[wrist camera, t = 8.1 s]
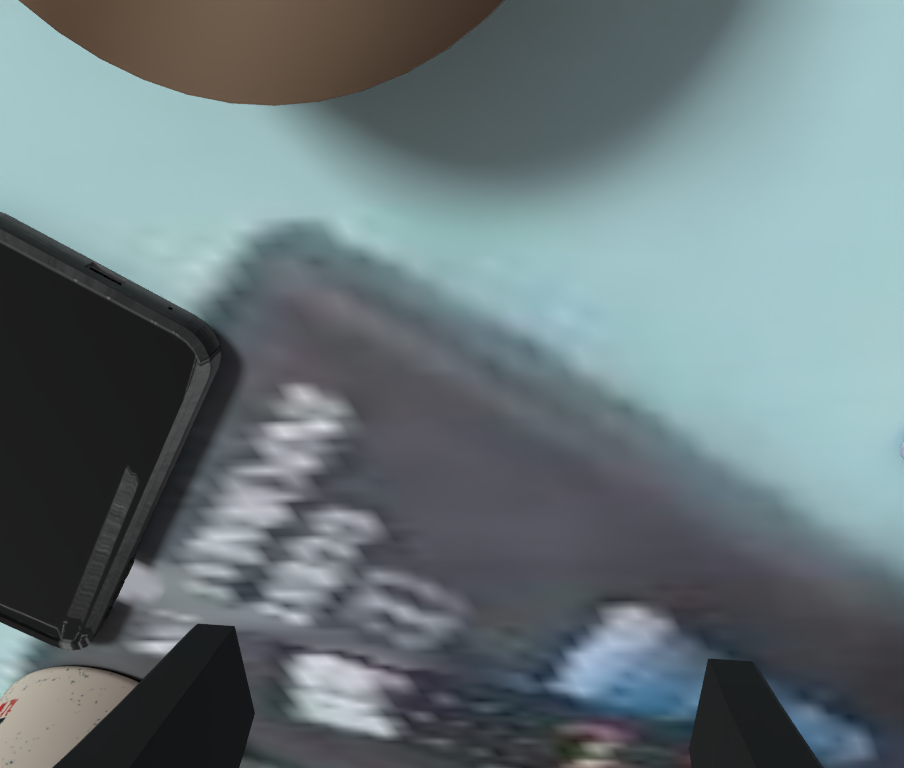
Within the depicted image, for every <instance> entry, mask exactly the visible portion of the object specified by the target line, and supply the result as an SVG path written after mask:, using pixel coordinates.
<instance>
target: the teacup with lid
mask: <svg viewBox="0 0 904 768" xmlns="http://www.w3.org/2000/svg"><path fill="white" fill-rule="evenodd" d="M138 683H139V682H137V681H135V680H133V679H130V678H128V677H125V676H122V675H119V674H116V673H113V672H109V671H105V670H101V669H95V668H89V667H79V666H59V667H51V668H46V669H42V670H38V671H36V672H33V673H30V674H28V675H26V676H24V677H22V678H21V679H19V680H18V681H16V682H15V683H14V684H13V685H12V686H11V687H10V688H9V689H8V690H7V691H6V692H5V693H4V695H3V696H2V697H1V699H0V768H52V767H53V766H54V765H55V764H57V763H58V762H59V761H60V760H61V759H62V758H63V757H64V756H65V755H66V754H67V753H68V752H70V751H71V750H72V749H73V748H74V747H75V746H76V745H77V744H78V743H79V742H80V741H81V740H82V739H83V738H84V737H85V736H86V735H87V734H88V733H89V732H90V731H91V730H92V729H93V728H94V727H95V726H96V725H97V724H98V723H99V722H100V721H101V720H102V719H103V718H104V717H105V716H107V715H108V714H109V713H110V712H111V711H112V710H113V709H114V708H115V707H116V706H117V705H118V704H119V703H120V702H121V701H122V700H123V699H124V698H125V697H126V696H127V695H128V694H129V693H130V692H131V691H132V690H133V689H134V688H135V687H136V686H137V684H138Z"/></svg>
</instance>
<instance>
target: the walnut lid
mask: <svg viewBox="0 0 904 768" xmlns="http://www.w3.org/2000/svg"><path fill="white" fill-rule="evenodd" d="M19 1H20V2H21V3H23V4H24V5H25V6H26V7H28V8H29V9H30V10H31V11H33V12H34V13H35V14H36V15H38V16H39V17H40V18H41V19H43V20H44V21H45V22H46V23H48V24H49V25H50V26H51V27H53V28H54V29H55V30H56V31H58V32H59V33H61V34H62V35H64V36H65V37H67V38H69V39H70V40H72V41H73V42H75V43H76V44H78V45H80V46H81V47H83V48H84V49H86V50H87V51H89V52H91V53H92V54H94V55H95V56H97V57H98V58H100V59H102V60H104V61H106V62H108V63H110V64H112V65H114V66H116V67H118V68H120V69H122V70H125V71H127V72H129V73H131V74H133V75H135V76H137V77H139V78H141V79H143V80H146V81H149V82H152V83H155V84H158V85H161V86H164V87H167V88H169V89H172V90H175V91H178V92H181V93H184V94H187V95H192V96H197V97H202V98H207V99H213V100H218V101H223V102H228V103H237V104H256V105H275V106H276V105H287V104H298V103H308V102H319V101H323V100H327V99H331V98H335V97H340V96H344V95H348V94H352V93H356V92H360V91H363V90H366V89H368V88H371V87H373V86H376V85H378V84H380V83H383V82H385V81H388V80H390V79H393V78H395V77H398V76H400V75H403V74H405V73H407V72H409V71H411V70H413V69H414V68H416V67H418V66H419V65H421V64H423V63H425V62H426V61H428V60H430V59H431V58H433V57H435V56H437V55H438V54H440V53H442V52H443V51H445V50H447V49H449V48H450V47H451V46H453V45H454V44H455V43H456V42H458V41H459V40H460V39H461V38H463V37H464V36H465V35H466V34H468V33H469V32H470V31H472V30H473V29H474V28H475V27H477V26H478V25H479V24H480V23H482V22H483V21H484V20H486V19H487V18H488V17H489V16H490V15H491V14H492V13H493V12H494V11H495V10H496V9H497V8H498V7H499V6H500V5H501V4H502V3H503V1H504V0H19Z"/></svg>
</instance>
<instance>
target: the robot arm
mask: <svg viewBox="0 0 904 768" xmlns="http://www.w3.org/2000/svg"><path fill="white" fill-rule="evenodd" d="M900 454H901V457H902V458H903V459H904V442H903V443H902V444H901V447H900ZM254 714H255V712H254V708H253V704H252V699H251V695H250V691H249V686H248V682H247V678H246V673H245V669H244V665H243V660H242V656H241V652H240V647H239V643H238V639H237V634H236V630H235V626H223V625H209V624H197V625H196V626H195V627H193V628H192V629H191V630H190V631H189V632H188V633H187V634H186V635H185V636H184V637H183V638H182V639H181V640H180V641H179V642H178V643H177V644H176V645H175V647H174V648H173V649H172V650H171V651H170V652H169V653H168V654H167V655H166V656H165V657H164V658H163V659H162V660H161V661H160V662H159V663H158V664H157V665H156V666H155V667H154V668H153V669H152V670H151V671H150V672H149V673H148V674H147V675H146V676H145V677H144V678H143V679H142V680H141V681H140V682H139V683H138V684H137V686H136V687H135V688H134V689H133V690H132V691H131V692H130V693H129V694H128V695H127V696H126V697H125V698H124V699H123V700H122V701H121V702H120V703H119V704H118V705H117V706H116V707H115V708H114V709H113V710H112V711H111V712H110V713H109V714H108V715H107V716H105V717H104V718H103V719H102V720H101V721H100V722H99V723H98V724H97V725H96V726H95V727H94V728H93V729H92V730H91V731H90V732H89V733H88V734H87V735H86V736H85V737H84V738H83V739H82V740H81V741H80V742H79V743H78V744H77V745H76V746H75V747H74V748H73V749H72V750H71V751H70V752H68V753H67V754H66V755H65V756H64V757H63V758H62V759H61V760H60V761H59V762H58V763H57V764H55V765H54V766H53V767H52V768H239V766H240V763H241V760H242V756H243V753H244V750H245V746H246V743H247V739H248V736H249V732H250V728H251V725H252V721H253V718H254ZM689 752H690V759H691V766H692V768H823V766H822V765H821V763H820V762H819V760H818V759H817V758H816V756H815V755H814V753H813V752H812V750H811V749H810V747H809V746H808V744H807V743H806V741H805V740H804V738H803V737H802V735H801V734H800V732H799V731H798V730H797V728H796V727H795V725H794V724H793V722H792V720H791V719H790V717H789V716H788V714H787V713H786V711H785V710H784V708H783V707H782V705H781V704H780V702H779V701H778V699H777V697H776V696H775V694H774V693H773V691H772V690H771V688H770V686H769V685H768V683H767V682H766V680H765V679H764V677H763V675H762V674H761V672H760V670H759V669H758V668H757V666H756V665H755V664H754V663H753V662H751V661H736V660H722V659H708V662H707V667H706V672H705V676H704V681H703V686H702V690H701V695H700V700H699V705H698V709H697V714H696V719H695V723H694V728H693V733H692V737H691V742H690V747H689Z"/></svg>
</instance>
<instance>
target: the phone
mask: <svg viewBox="0 0 904 768" xmlns="http://www.w3.org/2000/svg"><path fill="white" fill-rule="evenodd" d="M90 267H92V268H93V269H95V270H97V271H99V272H101V273H103V274H105V275H106V276H108V277H110V278H112V279H114V280H116V281H118V282H120V283H121V284H122V285H118V284H117V283H115V282H113V281H111V280H109V279H107V278H105V277H104V276H102V275H100V274H98V273H96V272H94V271H92V270H90V269H89V268H90ZM168 307H171V308H173V309H172V310H170V309H168ZM220 361H221V348H220V344H219V341H218V339H217V337H216V335H215V333H214V332H213V331H212V329H211V328H210V327H209V326H208V325H207V324H206V323H205V322H204V321H203V320H201V319H200V318H198V317H197V316H195V315H194V314H192V313H190V312H188V311H186V310H184V309H183V308H181V307H179V306H177V305H175V304H173V303H171V302H170V301H168V300H166V299H164V298H162V297H160V296H158V295H156V294H155V293H153V292H151V291H149V290H147V289H145V288H143V287H142V286H140V285H138V284H136V283H134V282H132V281H130V280H128V279H127V278H125V277H123V276H121V275H119V274H117V273H115V272H114V271H112V270H110V269H108V268H106V267H104V266H102V265H101V264H99V263H97V262H95V261H93V260H91V259H89V258H87V257H86V256H84V255H82V254H80V253H78V252H76V251H74V250H73V249H71V248H69V247H67V246H65V245H63V244H61V243H59V242H58V241H56V240H54V239H52V238H50V237H48V236H46V235H45V234H43V233H41V232H39V231H37V230H35V229H33V228H31V227H30V226H28V225H26V224H24V223H22V222H20V221H18V220H17V219H15V218H13V217H11V216H9V215H7V214H5V213H2V212H0V622H1V623H3V624H6V625H8V626H10V627H12V628H15V629H17V630H19V631H21V632H24V633H26V634H28V635H30V636H33V637H35V638H37V639H39V640H41V641H44V642H46V643H48V644H50V645H53V646H55V647H58V648H61V649H66V650H79V649H82V648H85V647H87V646H88V645H89V644H90V642H91V641H92V640H93V638H94V637H95V635H96V634H97V632H98V631H99V630H100V628H101V627H102V625H103V623H104V621H105V620H106V619H107V617H108V616H109V614H110V611H111V609H112V607H113V606H112V603H113V601H115V600H116V599H117V597H118V595H119V593H120V590H121V588H122V586H123V584H124V582H125V579H126V578H127V576H128V574H129V572H130V570H131V568H132V565H133V563H134V560H132V559H133V557H134V555H135V552H136V550H137V548H138V546H139V543H140V541H141V539H142V537H143V535H144V532H145V530H146V528H147V526H148V524H149V521H150V519H151V517H152V515H153V512H154V510H155V508H156V506H157V504H158V501H159V499H160V497H161V495H162V492H163V490H164V488H165V486H166V484H167V481H168V479H169V477H170V475H171V472H172V470H173V468H174V466H175V464H176V461H177V459H178V457H179V455H180V452H181V450H182V448H183V446H184V444H185V441H186V439H187V437H188V435H189V432H190V430H191V428H192V426H193V424H194V421H195V419H196V417H197V415H198V412H199V410H200V408H201V406H202V404H203V401H204V399H205V397H206V395H207V392H208V390H209V388H210V386H211V384H212V381H213V379H214V377H215V375H216V373H217V370H218V368H219V365H220Z"/></svg>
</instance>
